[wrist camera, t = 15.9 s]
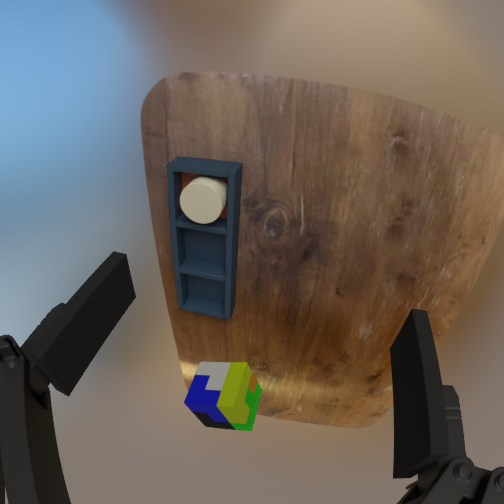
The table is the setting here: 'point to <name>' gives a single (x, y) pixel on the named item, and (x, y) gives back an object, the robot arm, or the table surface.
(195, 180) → the cylinder
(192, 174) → the grid
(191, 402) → the puzzle toy
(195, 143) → the table surface
